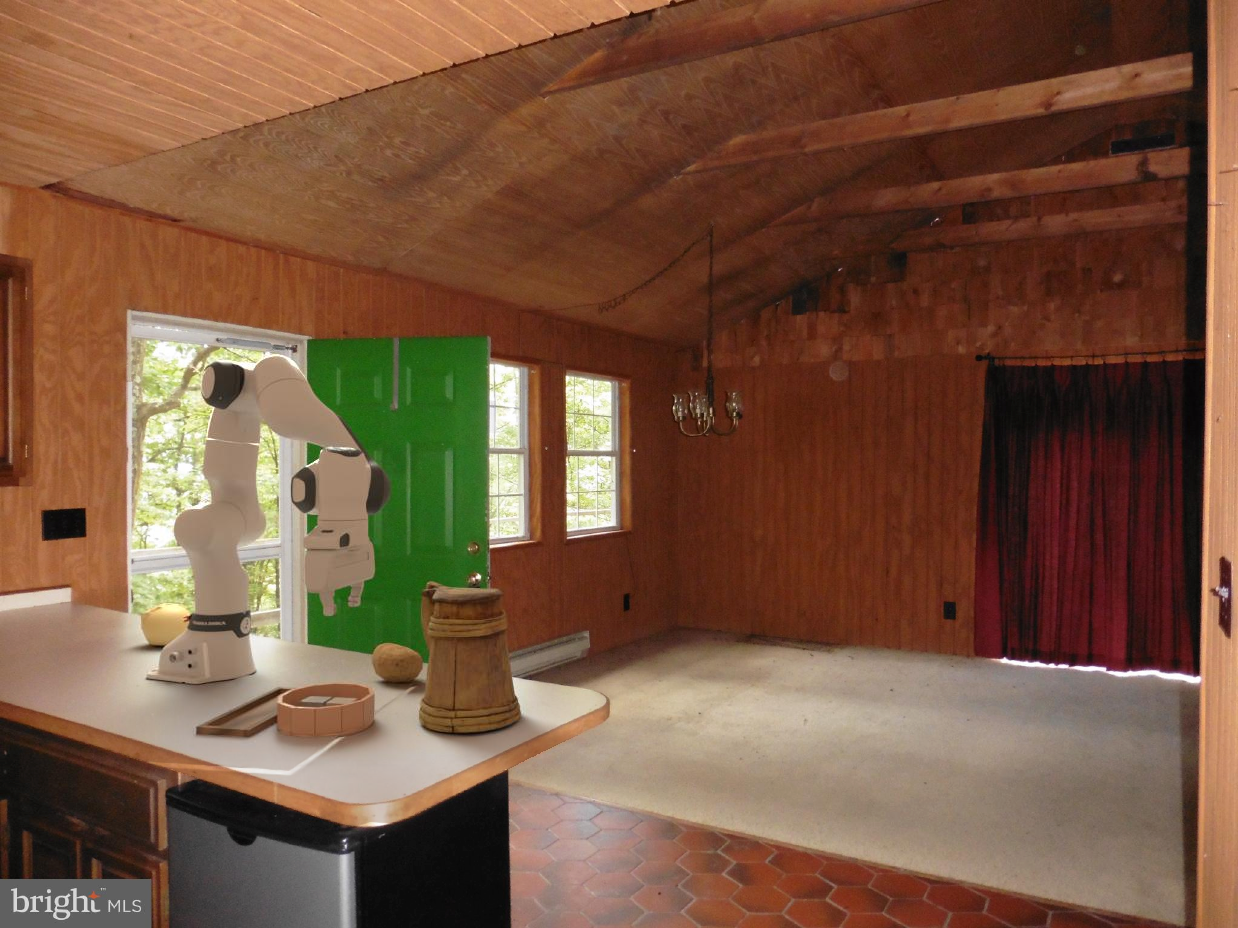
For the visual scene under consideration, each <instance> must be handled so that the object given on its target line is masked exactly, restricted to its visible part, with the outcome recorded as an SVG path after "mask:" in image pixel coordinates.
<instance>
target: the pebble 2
mask: <svg viewBox="0 0 1238 928" xmlns="http://www.w3.org/2000/svg"><path fill="white" fill-rule="evenodd" d="M354 701H358V698H339V697H335V698H333V699H332V700H330V701H328V702H327V703H326V706H337V705H343V704H347V703H351V702H354Z"/></svg>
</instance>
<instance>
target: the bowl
mask: <svg viewBox="0 0 1238 928" xmlns="http://www.w3.org/2000/svg"><path fill="white" fill-rule="evenodd" d="M294 688H295V689H291V690H289V691H287V692H285V693H283V694H281V695H279V696H278V702H277V722H276V726H277V727H276V728H277V730H278V731H279V732H280V733H282V734H286V735H289V736H293V737H301V738H319V737H330V736H336V735H337V737H336V739H339V738H344V737H348V736H352V735H355V734H358V733H360V732H363V731H366V730H367V729H368V728H370V727H371V726H372V725H373V724H374V719H375V701H376V700H375V697H376V696H375V690H374V689H373V687H371V686H369V685H365V684H361V683H357V682H356V683H354V682H353V683H351V682H328V683H317V684H309V685H304V686H300V687H294ZM309 696H320V697H332V699H333V698H335V697H339V698H358V701H354V702H351V703H347V704H343V705H337V706H326V707H300V701H302V700H304V699H306V698H308V697H309Z"/></svg>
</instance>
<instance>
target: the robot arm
mask: <svg viewBox="0 0 1238 928" xmlns="http://www.w3.org/2000/svg"><path fill="white" fill-rule="evenodd" d="M200 392H201V393H200V394H201V397H202V399H203V401H204V402H205V403H206V404H207V405H208V406H211V407H212V412H211V414H210V419H209V420H208V426H207V432H206V439H205V445H204V454H203V461H202V463H203V464H202V471H201V472H202V474H203V477H204V478H205V479H206V480H207V482H208V486H209V489H210V495H211V496H210V498H211V499H210V500H211V502H206V503H204V502H203V503H199V504H197V505H193V506H191V507H189V508H187V509H185V510H184V511H182V512H181V513H180V514H178V516H177V517H176V518H175V519H176V520H175V522H174V523H173V524H174V525H173V535H174V538H175V540H176V542H177V544H178V545H179V546H180V547H181V548H182V549H183V550H184V551H185V553H186V555H187V557H188V558H187V559H188V560H189V564H190V566H191V570H192V573H193V580H194V583H193V584H194V612H192V613H190V614H191V615H190V616H186V617H183V618H187V619H186V620H184V621H183V622H187V621H189V624H188V627H187V628H188V629H187V630H185V631H184V632H183V633H182V634H180V635H179V636H178V637H176V638H175V639H174V640H173V641H171V642H170V643H169V644H167V645H164V646H163V648H162V650H161V652H160V655H159V660H158V666H157V667H155V668H152V669H151V670H149V671H148V672H147V673H146V678H147V679H151V680H159V681H168V682H174V683H175V682H176V683H182V682H185V683H184V684H192V685H198V684H199V685H200V684H204V683H210V682H211V683H212V682H218V681H227V680H233V679H238V678H242V677H244V676H248V675H252V674H253V673H255V672H256V671H257V667H256V665H255V661H254V658H253V651H252V646H251V637H250V636H251V635H250V634H251V626H252V619H251V618H252V616H251V615H252V613H251V612H252V611H251V609H250V607H249V604H250V603H249V602H250V601H249V600H250V598H249V597H250V596H249V595H250V594H249V593H250V583H249V582H250V580H249V579H250V578H249V575H248V572H247V571H246V570H244V568H243V566H242V564H241V561H240V557H239V553H238V548H243V547H246V546H248V545H250V544H251V543H254V542H256V540H258V539H259V538H260V537H262V536H263V534H264V533H265V531H266V527H267V517H266V515H265V512H264V510H263V509H262V508H261V506H260V502H259V495H258V488H257V471H258V470H257V468H258V462H259V461H258V459H259V454H260V453H259V452H260V451H259V450H260V444H261V433H262V432H261V431H262V423H263V422H264V423H265V424H266V426H268V428H269V429H270V430H271V431H272V432H274V433H275V434H276V435H278V436H281V437H282V438H286V439H289V440H294V441H299V442H305V443H308V444H313V445H317V446H319V447H321V448H322V449H321V450H320V454H319V456H318V459H317V460H315V461H313V462H312V463H310V464H308V465H303V466H302V467H300V468H299V469H298V470H296V472H295V473H294V474H293V476H292V477H291V481H290V498H291V502H292V504H293V505H294V507H296V508H297V510H299V511H300V512H301V513H303V514H307V515H313V516H314V515H317V521H316V522H317V525H316V526H314V528H313V529H312V530H311V531H310V532H309V533H307V534H306V535H305V536H304V537H303V540H302V541H303V542H302V543H303V545H302V547H303V548H304V549H306V550H307V551H306V552H305V556H304V582H305V583H304V584H305V587H306V590H307V592H308V593H310V594H319V595H318V596H319V600H320V602H321V604H322V607H323V610H322V611H323V616H324V617H332V616H334V615H337V604H335V601H334V597H335V591H337V590H340V589H342V588H346V587H349V586H350V588H351V590H350V594H349V595H350V596H348V597H347V598H348V599H347V601H348V603H347V605H348V607H350V608H352V607H358V606H360V605H361V597H362V595H363V590H364V587H365V581H367V580H371V579H373V578H374V576H375V572H376V563H375V550H374V544H373V542H372V541H370V536H369V516H374V515H376V514H378V513H379V512H381V510H382V509H383V508H384V507H385V506H386V505H387V504H388V502H389V500H390V498H391V495H392V494H391V493H392V485H391V481H390V477H389V476H388V474H387V473H386V471H385V470H384V469H383V468H382V466H381V465H379V464H378V463H377V462H376V461H375V460H374V459H373V458H372V457H371V456H370V455H369V453H368V451H367V450H366V449H365V447H364V445H363V443H361V442H360V440H359V439H358V437H357V435H356V434H355V433H354V431H353V430H352V428H351V427H350V426H349V425H348V423H347V422H346V421H345V420H344V418H343V417H342V416H341V415H339V414H338V413H336V412H335V411H334V410H332V409H330V408H329V407H328V406H326V404H324V403H323V402H322V401H321V400H320V399H319V397H317V395H316V394H315V393H314V391H313V390H312V387H311V384H310V383H309V381H308V380H307V378H306V376H305V375H304V373H303V372H302V370H301V369H300V368H299V366H298V365H297V364H296V363H295V361H293V360H292V359H291V358H289V357H287V356H284V355H282V354H281V355H280V354H271V355H268V356H264V357H263V358H261V359H259V360H258V361H257V362H256V363H250V362H242V361H241V362H239V361H237V362H236V361H233V360H230V359H228V360H227V359H224V360H223V359H221V360H214V361H211V362H210V363H209V364H208V365H206V367H205V368H204V370H203V372H202V375H201V380H200Z"/></svg>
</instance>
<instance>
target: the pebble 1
mask: <svg viewBox="0 0 1238 928" xmlns="http://www.w3.org/2000/svg"><path fill="white" fill-rule="evenodd" d="M330 700H332V697H320V696H309V697H308V698H306V699H304V700H302V701H300V707H326V703H327V702H328V701H330Z"/></svg>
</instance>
